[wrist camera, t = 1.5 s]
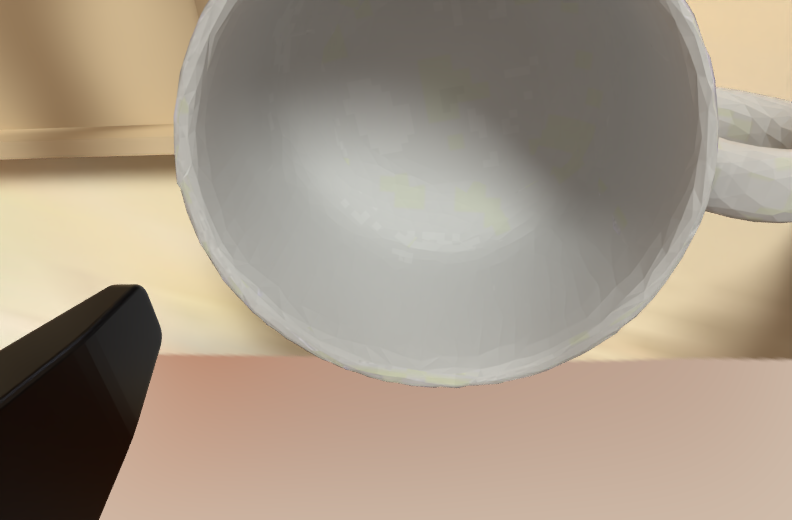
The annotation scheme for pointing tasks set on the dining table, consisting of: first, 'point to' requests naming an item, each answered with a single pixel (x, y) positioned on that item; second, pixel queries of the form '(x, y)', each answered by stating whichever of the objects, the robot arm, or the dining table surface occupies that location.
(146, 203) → the dining table surface
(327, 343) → the teacup
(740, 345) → the dining table surface
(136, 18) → the oak tray
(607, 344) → the dining table surface
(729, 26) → the dining table surface
